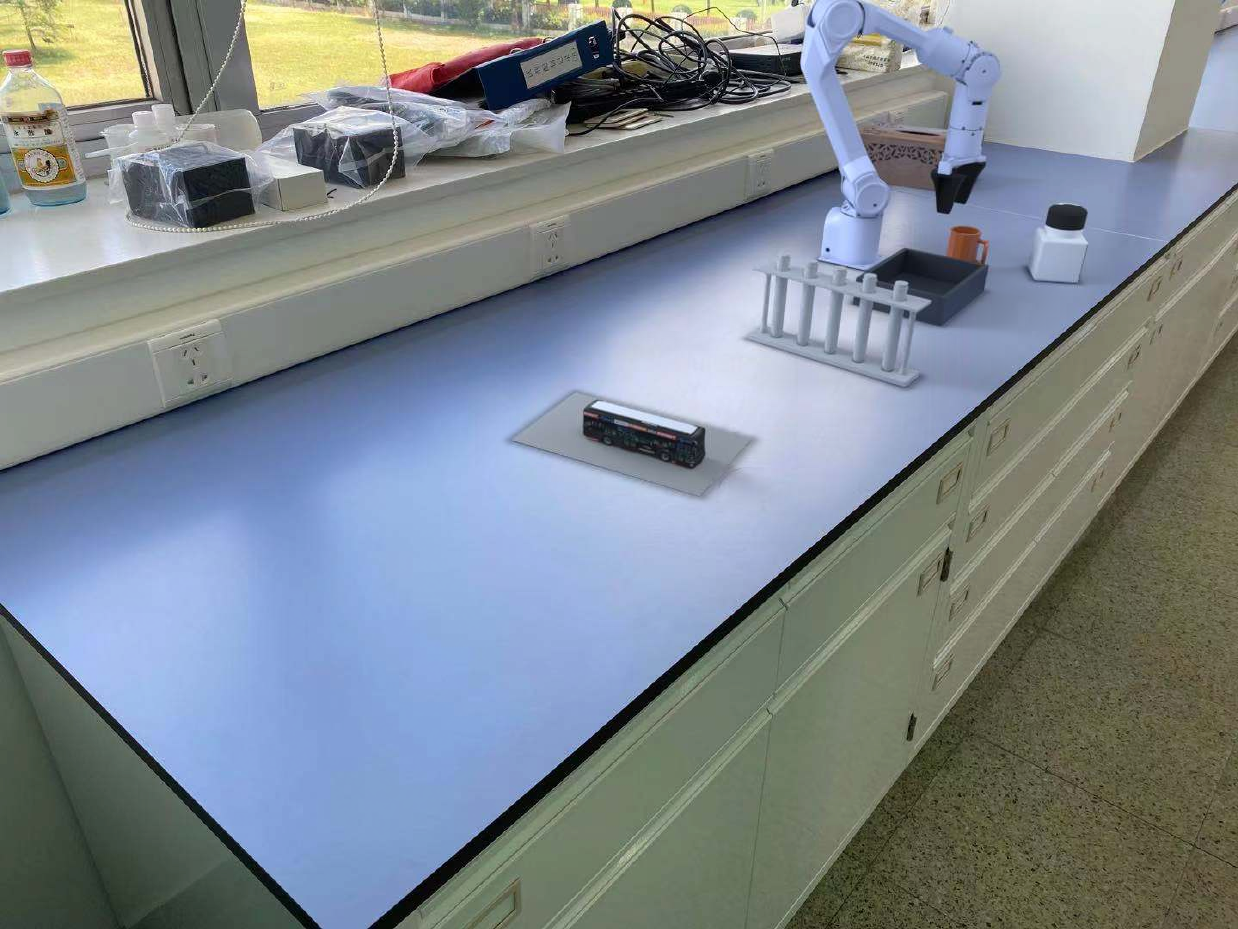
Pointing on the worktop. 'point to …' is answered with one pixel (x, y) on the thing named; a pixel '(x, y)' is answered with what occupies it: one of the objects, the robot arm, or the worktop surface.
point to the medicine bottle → (1060, 245)
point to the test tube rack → (829, 349)
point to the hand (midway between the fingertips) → (951, 207)
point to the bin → (930, 282)
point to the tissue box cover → (904, 152)
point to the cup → (966, 244)
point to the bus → (635, 442)
